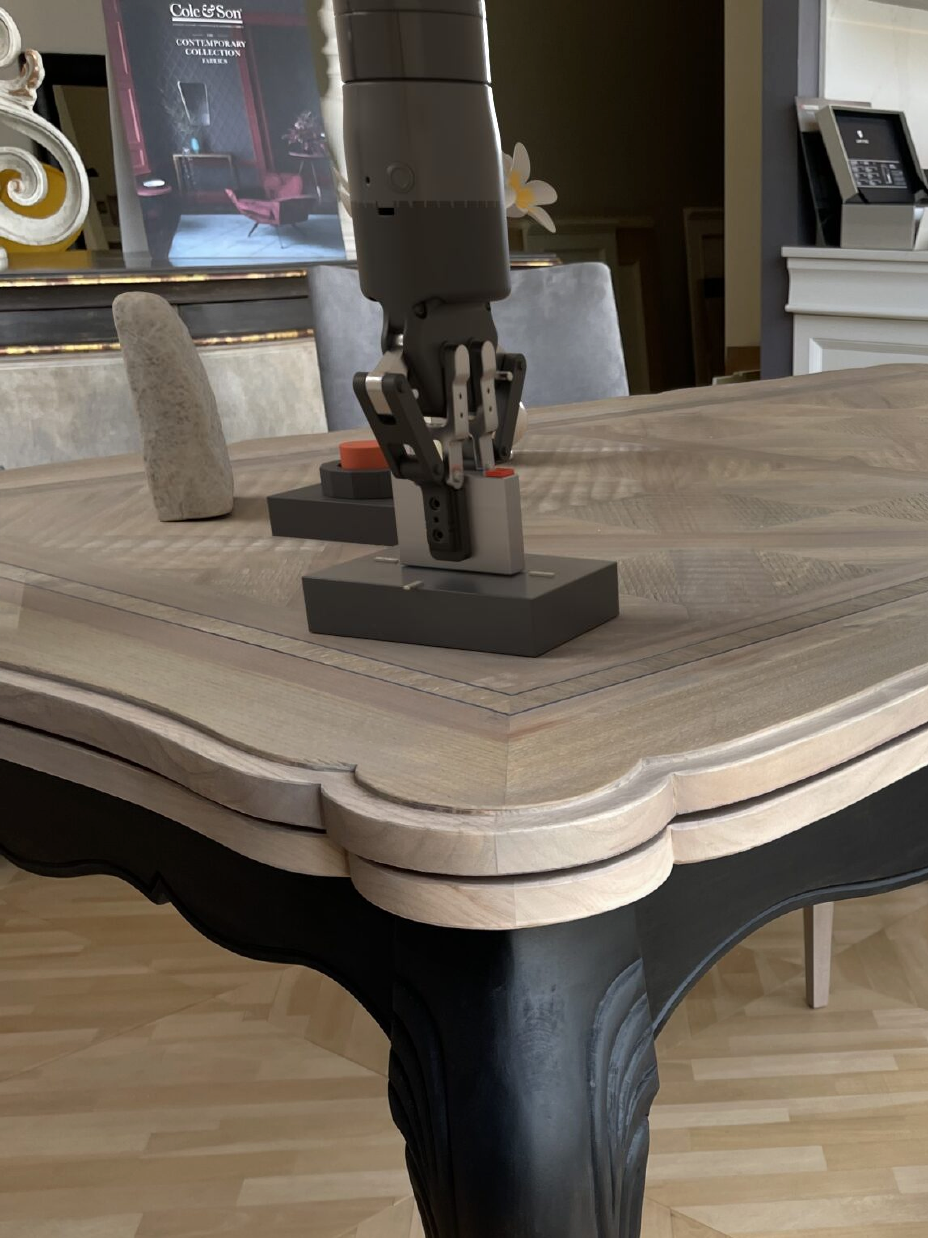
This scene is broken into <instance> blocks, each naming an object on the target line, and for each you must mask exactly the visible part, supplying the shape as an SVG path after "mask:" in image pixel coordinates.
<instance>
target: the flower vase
mask: <svg viewBox="0 0 928 1238" xmlns="http://www.w3.org/2000/svg"><path fill="white" fill-rule="evenodd" d="M501 151H502V164H503V178H504V191H505V204H506V217H509V218H516V219H517V218H522V217H524V216H525V215H528V216H529V217H531V218H533V220H535V221H536V222H537V223H539V224H540V225H541V226H542V227H543V228H545V229H546V230H547V231H549V232H551V233H553V234H554V233H556V231H557V230H556V227H555V224H554V221H553V219H552V218H551V216H550V215H549V214H548V212H547V211H546V210H545V209H543V208H542V207H540V206H543V205H544V206H545V205H552V204H554V203H555V202H557V199H558V194H557V192H556V190H555V188H554V187H553V186H552V185H550V184H549V183H548V182H545V181H543V180H540V179H539V180H537V179H535V180H530V181H529V182H527V181H528V180H529V178H530V174H531V162H530V157H529V154H528V150H527V149H526V147H525V146H524V144H523V143H521V142H520V141H519V142H517V143H516V144H515V146H514V150H513V157H512V156H511V155H510V154H507V153H505V152H504V151H503V150H501ZM332 168H333V171H334V173H335V175H336V178H337V179H338V181H339V183H340V185H341V186H342V188H343V189H344V191H346V193H344V192H343V191H342V192H341V191H340V193H339V197H340V199H341V203H342V205H343V207H344V209H345V211H346V213H347V215H348V216H349V217H350V218H351V219H352V213H351V204H350V194H349V186H348V180H346V178H345V177H344V176H343V175H342V174H341V173H340V172H339V170H337V168H336V167H334V166H332ZM424 420H425V422H427V423H431V418H430V417H424ZM528 427H529V415H528V412H527V409H526V407H525V404H524V403H523V401H522V400H521V401H520V407H519V412H518V417H517V423H516V428H515V434H514V439H513V444H512V447H514V446H515V445H516V444H517V443H519V442H520V441H521V440H522V438H523V437H524V435H525V433H526V432H527V429H528ZM494 436H495V431H494V432H493V433H492V438H494ZM513 457H514V451H513V449H512V450H511V455H510V459H509V461H510V460H512V459H513Z"/></svg>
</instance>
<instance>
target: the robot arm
mask: <svg viewBox="0 0 928 1238" xmlns="http://www.w3.org/2000/svg"><path fill="white" fill-rule="evenodd" d="M331 2H332V10H333V16H334V19H333V20H334V28H335V36H336V46H337V53H338V62H339V63H338V64H339V71H340V80H341V82H342V83H343V84H342V86H341V91H342V141H343V143H342V144H343V153H344V161H345V169H346V170H345V171H346V176H347V177H346V179H347V182H348V186H349V193H348V195H349V194H350V195H349V196H350V204H351V213H352V218H351V220H352V229H353V238H354V247H355V253H356V264H357V271H358V272H357V274H358V281H359V288H360V291H361V294H362V295H363V297H364V298H365V299H366V300H369V301H371V302H374V303H378V304H379V305H380V306H381V308H382V330H381V334H380V350H381V354H382V357H381V359H380V360H379V361H378V363H377V364H376V366H375V367H374V368H373V370H372V371H357V372H355V374H354V375H353V377H352V390H353V392H354V395H355V397H356V399H357V401H358V403H359V405H360V407H361V410H362V412H363V414H364V416H365V418H366V421H367V423H368V425H369V427H370V429H371V432H372V434H373V435H374V438H375V440H376V441H377V442H378V444H379V446H380V448H381V451H382V453H383V455H384V457H385V459H386V461H387V463H388V465H389V468H390V470H391V472H392V474H393V476H394V477H395V478H396V479H408V480H410V481H413V482H414V484H415V485H416V486H420V488H421V491H422V496H423V505H424V515H425V521H426V523H425V524H426V529H427V531H426V534H427V542H428V545H429V551H430V554H431V556H432V557H433V558H434V559H435V560H440V561H451V562H461V561H464V560H466V559H468V558H469V557H470V556H471V542H470V531H469V520H468V510H467V499H466V489H465V488H461V486H462V484H463V479H464V475H463V470H473V471H488V470H492V469H495V468H496V466H497V465H498V464H499V463H508V462H509V461H510V460H511V459H510V455H511V450H512V451H513V446H512V444H513V439H514V434H515V428H516V423H517V417H518V412H519V407H520V401H521V402H522V394H523V390H524V386H525V380H526V374H527V369H528V367H527V360H526V357H525V355H524V354H523V353H520V352H519V353H518V352H506V350H504V349H503V348H502V347H501V345H499V333H498V328H497V325H496V322H495V320H494V315H493V312H492V306H491V303H493V302H499V301H503V300H506V299H507V298H508V297H509V296H510V295H511V292H512V288H513V287H512V272H511V262H510V260H511V259H510V248H509V247H510V246H509V237H508V236H509V235H508V220H507V216H506V204H505V191H504V178H503V164H502V151H503V150H502V143H501V136H500V130H499V124H498V120H497V115H496V108H495V104H494V95H493V88H492V87H491V84H492V80H491V79H492V78H491V77H492V76H491V65H490V64H491V63H490V51H489V38H488V25H487V24H488V23H487V13H486V11H487V10H486V3H485V0H332V1H331ZM424 417H430V418H431V423H427V422H425V420H424ZM494 431H495V436H494V438H492V433H493V432H494ZM433 440H438V441H439V442H440V443H441V446H442V459H441V457H440V454H439V452H438V450H437V448H436V445H435V443H434V441H433ZM405 445H406V446H408V447H409V448H408V449H409V453H408V452H407V449H406V447H405ZM509 459H510V460H509ZM442 460H443V461H442Z"/></svg>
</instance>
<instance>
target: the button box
mask: <svg viewBox="0 0 928 1238" xmlns="http://www.w3.org/2000/svg"><path fill="white" fill-rule="evenodd" d="M318 470H319V476H320V477H319V478H320V482H318V483H313V484H311V485H307V486H303V487H298V488H295V489H291V490H287V491H286V490H285V491H282V492H278V493H274V494H271V495H267V496H266V502H267V510H268V515H269V516H268V517H269V524H270V530H271V536H272V537H278V538H279V537H280V538H291V539H301V540H302V539H303V540H316V541H326V542H335V543H336V542H337V543H348V544H360V545H369V546H382V547H392V546H396V545H399V544H398V535H397V526H396V517H395V507H394V498H393V489H392V480H391V470H390V468H379V469H346V468H342V465H341V459H336V460H331V461H326V462H322V463H321V464H320V466H319V469H318Z"/></svg>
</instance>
